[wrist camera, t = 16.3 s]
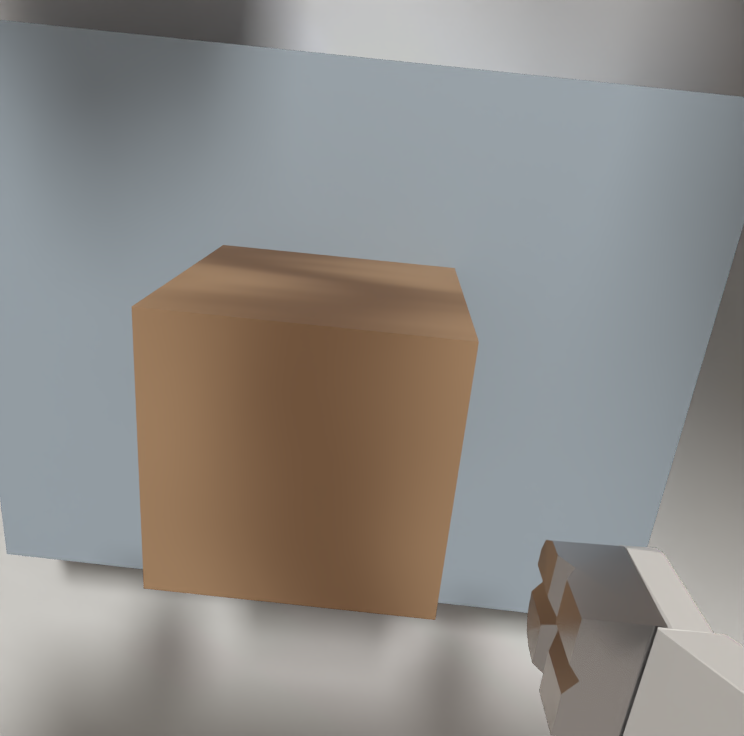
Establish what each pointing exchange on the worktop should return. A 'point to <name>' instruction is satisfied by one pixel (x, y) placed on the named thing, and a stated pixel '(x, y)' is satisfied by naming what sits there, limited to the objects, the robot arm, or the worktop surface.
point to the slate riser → (364, 241)
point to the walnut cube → (302, 428)
